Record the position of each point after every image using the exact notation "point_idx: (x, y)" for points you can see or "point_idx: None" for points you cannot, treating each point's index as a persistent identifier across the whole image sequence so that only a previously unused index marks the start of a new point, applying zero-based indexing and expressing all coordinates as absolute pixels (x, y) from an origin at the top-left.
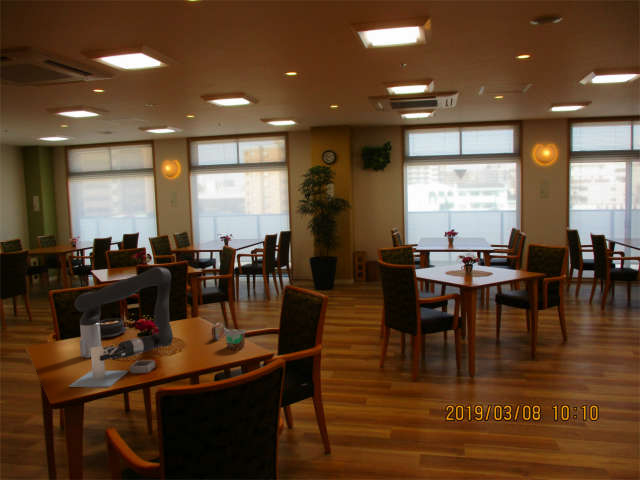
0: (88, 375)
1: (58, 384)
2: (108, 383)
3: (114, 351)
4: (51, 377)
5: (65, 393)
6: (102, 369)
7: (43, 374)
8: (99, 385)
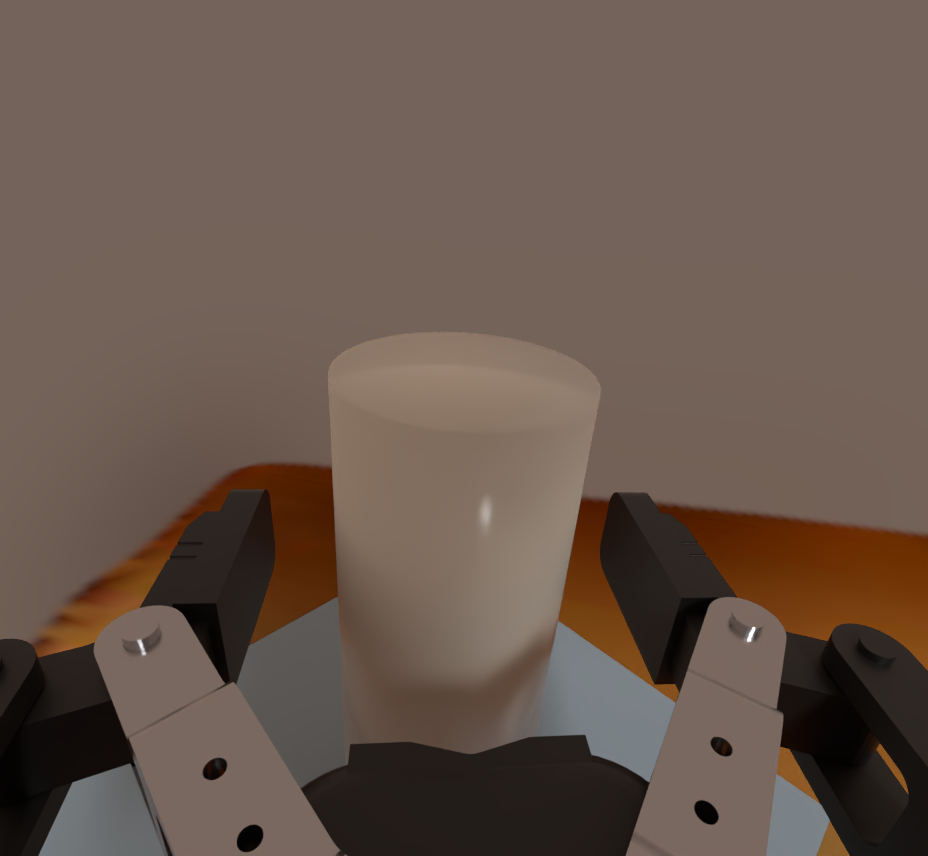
0: (637, 731)
1: (586, 533)
2: (73, 806)
3: (145, 779)
4: (806, 545)
5: None
6: (346, 737)
7: (916, 534)
8: None
